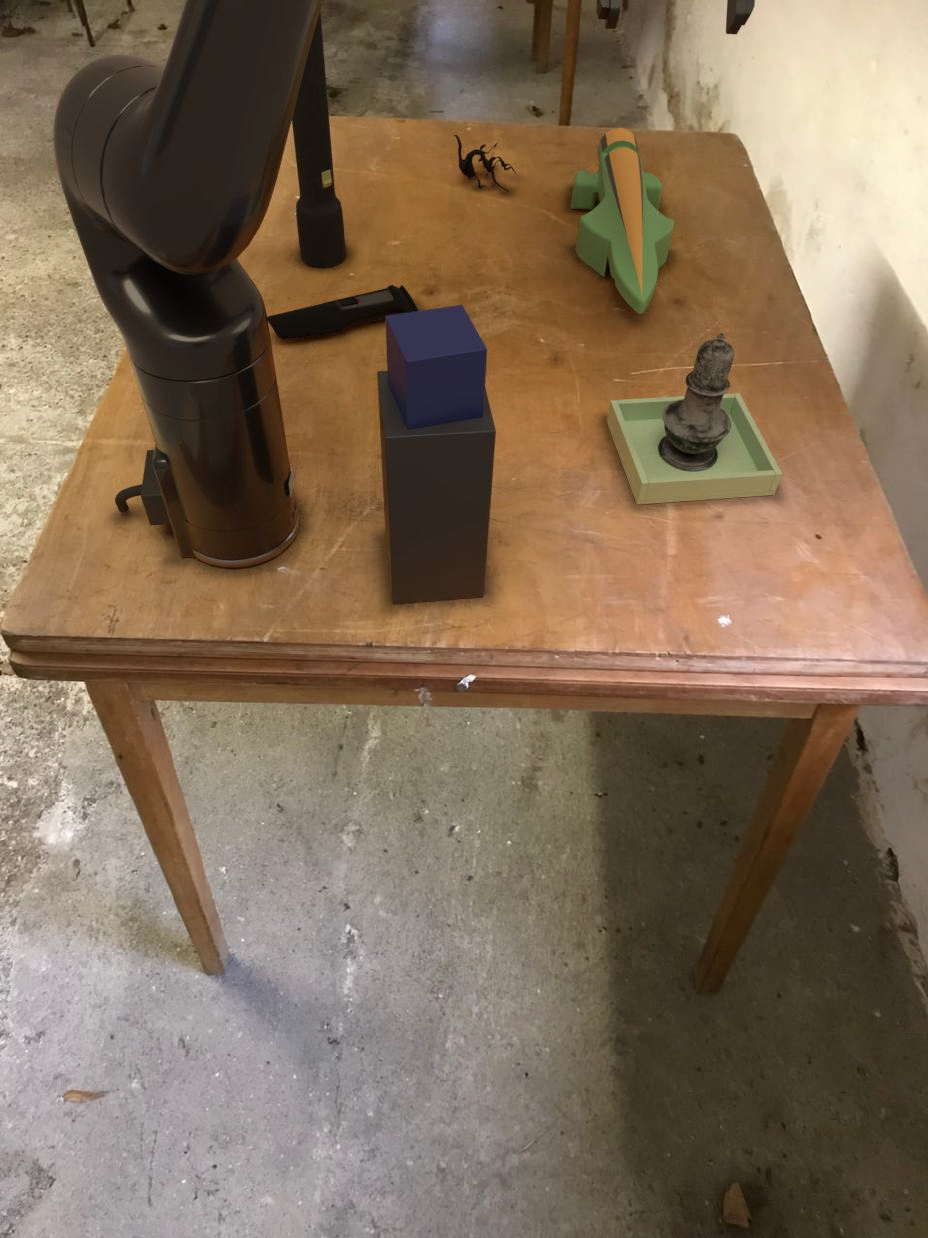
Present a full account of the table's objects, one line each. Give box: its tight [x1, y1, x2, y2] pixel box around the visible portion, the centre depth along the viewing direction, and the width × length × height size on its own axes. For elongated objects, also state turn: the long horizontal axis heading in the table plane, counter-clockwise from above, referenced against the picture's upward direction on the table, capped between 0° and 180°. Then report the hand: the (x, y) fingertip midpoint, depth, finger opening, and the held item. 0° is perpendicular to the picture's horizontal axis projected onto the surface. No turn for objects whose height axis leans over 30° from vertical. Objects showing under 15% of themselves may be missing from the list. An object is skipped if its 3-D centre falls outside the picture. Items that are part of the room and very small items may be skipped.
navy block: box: [384, 304, 488, 430], centre depth 56 cm, size 5×5×5 cm
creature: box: [453, 134, 517, 193], centre depth 111 cm, size 8×5×8 cm
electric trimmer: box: [267, 284, 419, 340], centre depth 90 cm, size 4×16×3 cm, turn 115°
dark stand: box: [376, 370, 497, 605], centre depth 64 cm, size 7×7×16 cm
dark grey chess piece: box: [658, 332, 735, 472], centre depth 75 cm, size 6×6×12 cm
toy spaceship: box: [570, 127, 675, 315], centre depth 99 cm, size 32×10×7 cm, turn 179°
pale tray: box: [606, 392, 783, 505], centre depth 79 cm, size 12×11×2 cm
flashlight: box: [291, 11, 347, 269], centre depth 91 cm, size 5×24×5 cm
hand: (674, 25), depth 62 cm, fingers open, 8 cm apart
